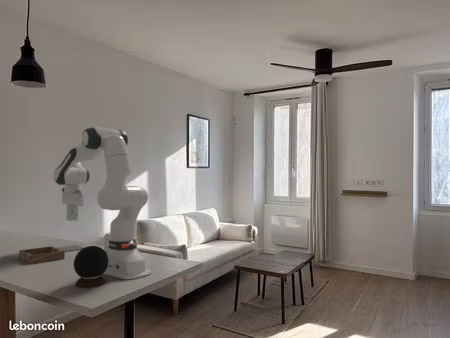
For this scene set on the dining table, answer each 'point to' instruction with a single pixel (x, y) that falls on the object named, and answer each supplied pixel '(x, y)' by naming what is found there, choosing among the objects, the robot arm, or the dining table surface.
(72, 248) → the rubber mat
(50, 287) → the dining table surface
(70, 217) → the green block
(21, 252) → the walnut crate
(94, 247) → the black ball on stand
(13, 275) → the dining table surface
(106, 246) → the small box
